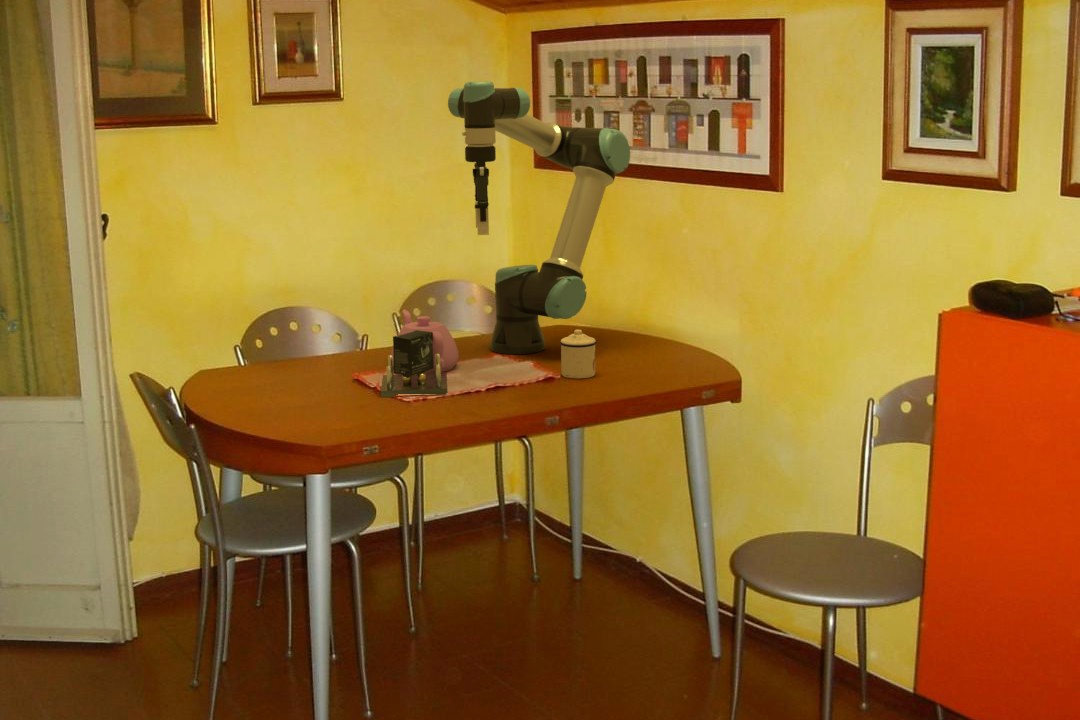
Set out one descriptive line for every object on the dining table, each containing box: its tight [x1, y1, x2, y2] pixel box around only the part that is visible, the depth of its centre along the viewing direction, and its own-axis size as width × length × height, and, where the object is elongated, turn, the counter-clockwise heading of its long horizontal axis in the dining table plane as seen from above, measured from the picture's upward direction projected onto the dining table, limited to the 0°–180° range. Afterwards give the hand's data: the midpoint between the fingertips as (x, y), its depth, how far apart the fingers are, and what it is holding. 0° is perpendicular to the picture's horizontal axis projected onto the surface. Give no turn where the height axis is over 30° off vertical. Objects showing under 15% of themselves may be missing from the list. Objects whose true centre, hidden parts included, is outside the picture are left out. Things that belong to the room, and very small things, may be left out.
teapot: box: [390, 309, 460, 374], centre depth 347 cm, size 25×18×14 cm
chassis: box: [380, 353, 448, 398], centre depth 326 cm, size 16×16×7 cm
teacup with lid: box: [559, 329, 597, 380], centre depth 337 cm, size 12×9×12 cm
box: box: [392, 330, 434, 376], centre depth 325 cm, size 9×6×10 cm, turn 147°
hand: (482, 231), depth 331 cm, fingers open, 13 cm apart
